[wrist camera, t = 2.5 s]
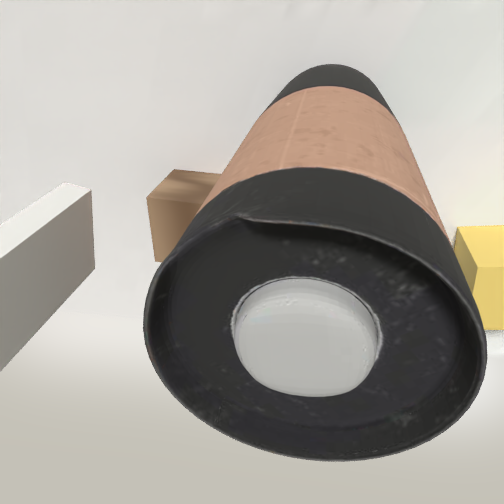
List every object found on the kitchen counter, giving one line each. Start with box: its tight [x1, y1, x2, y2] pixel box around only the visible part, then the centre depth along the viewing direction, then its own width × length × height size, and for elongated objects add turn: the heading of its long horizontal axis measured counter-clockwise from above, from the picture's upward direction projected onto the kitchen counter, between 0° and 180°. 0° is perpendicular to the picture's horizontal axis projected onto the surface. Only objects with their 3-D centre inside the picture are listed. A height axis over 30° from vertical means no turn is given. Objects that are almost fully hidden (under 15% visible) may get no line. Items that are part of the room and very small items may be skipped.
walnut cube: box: [146, 169, 222, 262], centre depth 28 cm, size 5×5×5 cm
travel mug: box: [143, 64, 487, 462], centre depth 17 cm, size 8×8×20 cm
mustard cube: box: [454, 225, 504, 330], centre depth 26 cm, size 5×5×5 cm
